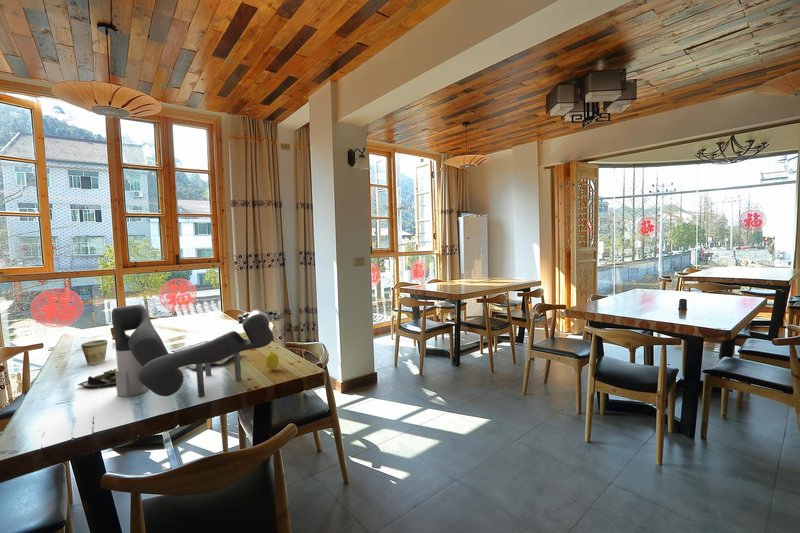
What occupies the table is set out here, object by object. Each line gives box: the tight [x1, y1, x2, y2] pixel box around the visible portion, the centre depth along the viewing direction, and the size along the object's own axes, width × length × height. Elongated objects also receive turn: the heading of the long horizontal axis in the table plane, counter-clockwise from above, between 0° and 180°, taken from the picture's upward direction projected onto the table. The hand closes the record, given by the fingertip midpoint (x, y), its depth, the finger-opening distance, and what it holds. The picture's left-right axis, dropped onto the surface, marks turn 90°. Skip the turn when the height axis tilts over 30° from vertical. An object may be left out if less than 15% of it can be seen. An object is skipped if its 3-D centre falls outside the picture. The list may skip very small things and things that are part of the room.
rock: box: [186, 355, 234, 370], centre depth 179 cm, size 19×7×25 cm
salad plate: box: [77, 368, 118, 390], centre depth 160 cm, size 19×18×5 cm
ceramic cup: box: [80, 339, 108, 366], centre depth 187 cm, size 13×10×10 cm
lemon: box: [264, 351, 279, 371], centre depth 164 cm, size 6×6×8 cm
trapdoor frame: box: [167, 339, 242, 398], centre depth 150 cm, size 19×19×15 cm
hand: (258, 313), depth 152 cm, fingers open, 8 cm apart
